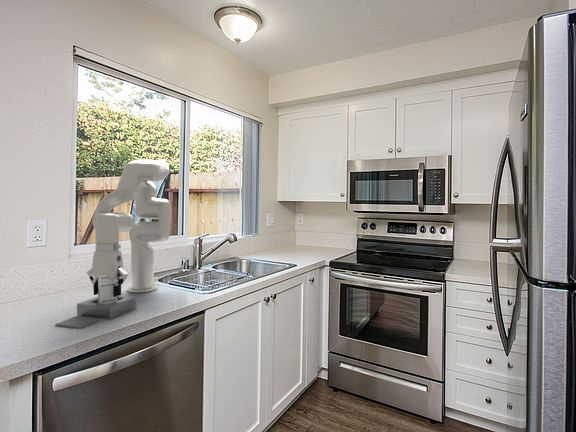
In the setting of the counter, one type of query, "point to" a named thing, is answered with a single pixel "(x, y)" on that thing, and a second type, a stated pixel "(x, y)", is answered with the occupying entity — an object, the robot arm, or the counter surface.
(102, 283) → the syrup box
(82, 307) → the gray square frame
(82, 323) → the charcoal mat
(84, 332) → the counter surface
